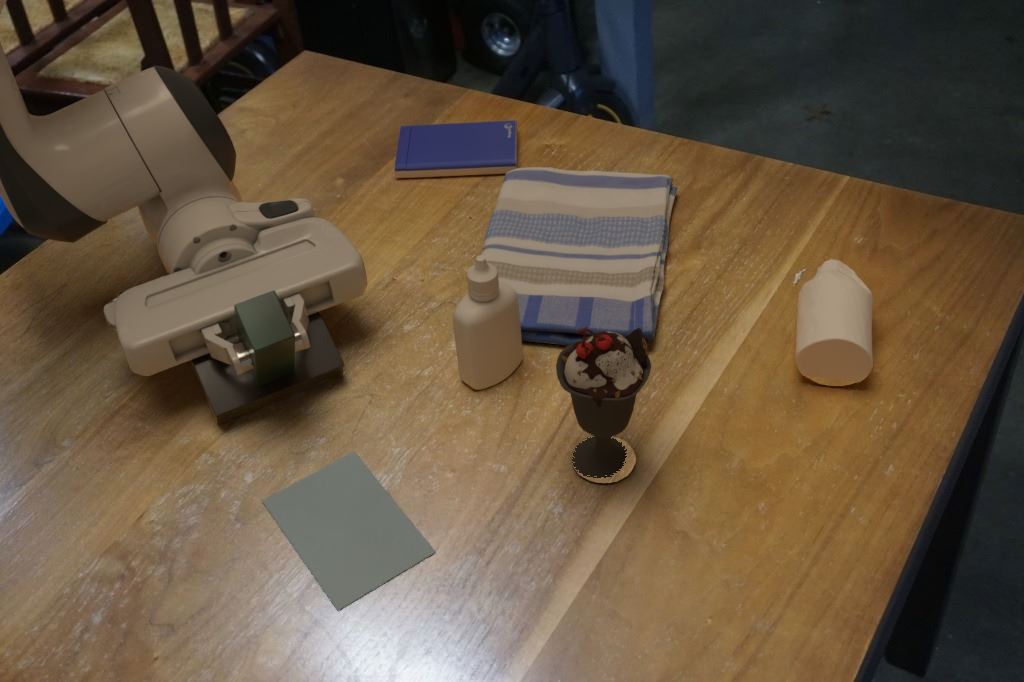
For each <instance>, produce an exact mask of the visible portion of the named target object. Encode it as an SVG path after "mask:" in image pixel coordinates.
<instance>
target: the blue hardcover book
mask: <svg viewBox="0 0 1024 682" xmlns="http://www.w3.org/2000/svg"><path fill="white" fill-rule="evenodd" d="M517 168H518V120H516V119H515V120H493V121H490V120H489V121H476V122H475V121H473V122H453V123H452V122H450V123H432V124H430V123H429V124H414V125H413V124H412V125H401V126H400V130H399V136H398V142H397V149H396V155H395V162H394V174H395V178H396V179H405V178H406V179H410V178H411V179H412V178H414V179H415V178H434V177H435V178H436V177H437V178H438V177H457V176H458V177H459V176H479V175H503V174H505V175H506V173H507V172H509V171H511V170H513V169H517Z"/></svg>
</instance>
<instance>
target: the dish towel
mask: <svg viewBox="0 0 1024 682" xmlns="http://www.w3.org/2000/svg"><path fill="white" fill-rule="evenodd" d="M673 181H674V179H673V177H671V176H669V174H660V173H659V174H651V173H650V174H649V173H642V172H622V171H621V172H620V171H604V170H603V171H602V170H572V169H571V170H570V169H559V168H555V167H550V166H548V167H547V166H545V167H540V166H539V167H538V166H528V167H527V166H526V167H525V166H524V167H517V169H513V170H511V171H509V172H507V173H505V175H504V178H503V180H502V185H501V187H500V189H499V192H498V195H497V199H496V203H495V206H494V208H493V211H492V213H491V216H490V219H489V222H488V225H487V229H486V232H485V235H484V239H483V247H482V251H481V253H480V255H483V256H485V258H486V261H487V263H489V264H492V265H494V266H495V267H496V268H497V270H498V279H499V282H503V283H505V284H507V285H509V286H510V287H512V288H513V289H514V290H515V291H516V293H517V295H518V302H519V312H520V325H521V338H522V342H531V343H539V344H540V343H541V344H542V343H543V344H553V345H559V346H569V345H570V344H573V343H575V342H577V341H579V340H582V339H583V337H584V334H579V333H578V332H577V330H580V329H583V328H585V327H586V326H587V329H589V330H591V331H593V332H594V333H596V334H597V333H599V332H603V331H610V332H616V333H618V334H620V335H622V336H623V337H626V336H627V335H629V334H630V333H631V332H633V331H634V330H635V329H637V328H640V329H641V330H642V334H643V337H644V339H645V342H646V345H647V346H648V342H649V340H654V339H655V336H656V335H655V334H656V328H657V323H658V317H659V309H660V303H661V298H662V293H663V291H664V286H665V264H666V257H667V253H668V248H669V247H668V245H669V235H670V222H671V217H672V211H673V206H674V202H675V200H676V193H677V190H678V186H677V185H675V184H673ZM585 333H586V337H589V336H593V335H594V334H592V333H591V332H589V331H586V332H585Z"/></svg>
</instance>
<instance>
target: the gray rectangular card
mask: <svg viewBox="0 0 1024 682" xmlns="http://www.w3.org/2000/svg"><path fill="white" fill-rule="evenodd" d="M261 503H262V504H263V505H264V507H265V508H266V510H267V511H268V513H269V514H270V515H271V518H273V520H274V521H275V523H276V524H277V526H278V527H279V528H280V531H282V533H283V534H284V536H285V537H286V539H287V540H288V541H289V543H290V544H291V546H292V547H293V549H294V550H295V551H296V553H297V555H298V556H299V557H300V559H301V560H302V561H303V563H304V565H305V566H306V567H307V569H308V571H309V572H310V573H311V575H312V576H313V577H314V579H315V580H316V582H317V583H318V585H319V587H321V589H322V591H323V592H324V593H325V595H326V597H327V598H328V599H329V601H330V602H331V603H332V605H333V607H334V608H335V609H336V611H337V612H339V611H340V610H342V609H344V608H345V607H347V606H349V605H351V604H353V603H354V602H356V601H357V600H359V599H361V598H362V597H364V596H366V595H367V594H369V593H371V592H373V591H374V590H375V589H377V588H379V587H380V586H382V585H384V584H386V583H387V582H390V581H391V580H393V579H394V578H396V577H397V576H400V574H402V573H404V572H406V571H407V570H409V569H411V568H412V567H414V566H415V565H417V564H419V563H421V562H422V561H424V560H426V559H427V558H429V557H431V556H433V555H434V554H436V550H435V549H434V548H433V546H432V545H431V544H430V543H429V541H428V540H427V539H426V538H425V537H424V535H423V534H422V532H420V530H419V529H418V528H417V526H415V524H414V523H413V522H412V521H411V520H410V518H409V517H408V515H406V513H405V512H404V511H403V510H402V508H401V507H400V505H399V504H397V502H396V501H395V500H394V498H393V497H392V496H391V495H390V493H389V492H388V491H387V490H386V489H385V487H384V486H383V485H382V484H381V482H380V481H379V480H378V478H377V477H376V476H375V475H374V474H373V472H372V471H371V470H370V469H369V468H368V466H367V465H366V464H365V463H364V462H363V460H362V459H361V458H360V457H359V455H358V454H357V453H356V452H355V450H354V451H352V452H349V453H348V454H346V455H344V456H342V457H341V458H339V459H336V460H335V461H333V462H331V463H329V464H327V465H325V466H324V467H322V468H320V469H318V470H316V471H314V472H312V473H311V474H309V475H307V476H305V477H304V478H301V479H300V480H298V481H296V482H294V483H292V484H290V485H289V486H286V487H285V488H283V489H281V490H278V491H277V492H275V493H274V494H271V495H270V496H268V497H266V498H264V499H262V500H261Z"/></svg>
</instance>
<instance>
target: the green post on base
mask: <svg viewBox="0 0 1024 682" xmlns="http://www.w3.org/2000/svg"><path fill="white" fill-rule="evenodd" d="M234 310H235V317H236V325H237V333H238V341H239V342H237V343H240V342H244V343H245V345H246V348H247V349H248V351H249V353H250V355H251V358H252V361H253V362H252V363H253V364H254V368H255V369H253V370H250V371H248V372H246V373H243V374H240V375H238V376H237V374H236V373H235V371H234V369H233V367H232V365H231V364H230V365H229V364H227V363H224V362H222V361H219V360H217V359H214V358H212V357H211V355H210V353H208V354H206V355H203V356H200V357H198V358H195V359H193V360H190V361H189V362H190V364H191V367H192V368H193V371H194V373H195V376H196V378H197V381H198V382H199V385H200V387H201V390H202V392H203V394H204V397H205V399H206V402H207V404H208V406H209V408H210V411H211V413H212V415H213V419H214V420H215V422H216V425H221V424H223V423H225V422H227V421H231V420H232V419H235V418H237V417H240V416H242V415H246V414H248V413H250V412H253V411H255V410H257V409H260V408H262V407H263V408H264V407H266V406H268V405H270V404H273V403H275V402H277V401H279V400H283V399H285V398H287V397H289V396H292V395H295V394H298V393H300V392H302V391H305V390H308V389H310V388H313V387H315V386H317V385H319V384H322V383H325V382H327V381H329V380H333V379H335V378H338V377H339V376H340V377H341V376H342V375H344V371H345V363H344V361H343V360H342V357H341V355H340V353H339V350H338V348H337V346H336V344H335V342H334V339H333V337H332V335H331V333H330V330H329V328H328V327H327V324H326V322H325V320H324V318H323V316H322V313H321V311H319V312H317V313H314V314H311V315H309V316H308V318H309V323H308V326H307V330H306V333H307V335H308V339H309V343H310V348H307V349H305V350H302V351H299V352H297V353H295V334H294V332H293V330H292V328H291V325H290V323H291V322H290V323H289V321H288V319H287V317H286V314H285V312H284V310H283V308H282V305H281V303H280V301H279V299H278V297H277V294H276V292H275V291H274V290H273V291H271V292H268V293H265V294H262V295H260V296H257V297H254V298H252V299H249V300H246V301H243V302H241V303H238V304H235V305H234ZM237 343H235V344H237Z"/></svg>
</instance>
